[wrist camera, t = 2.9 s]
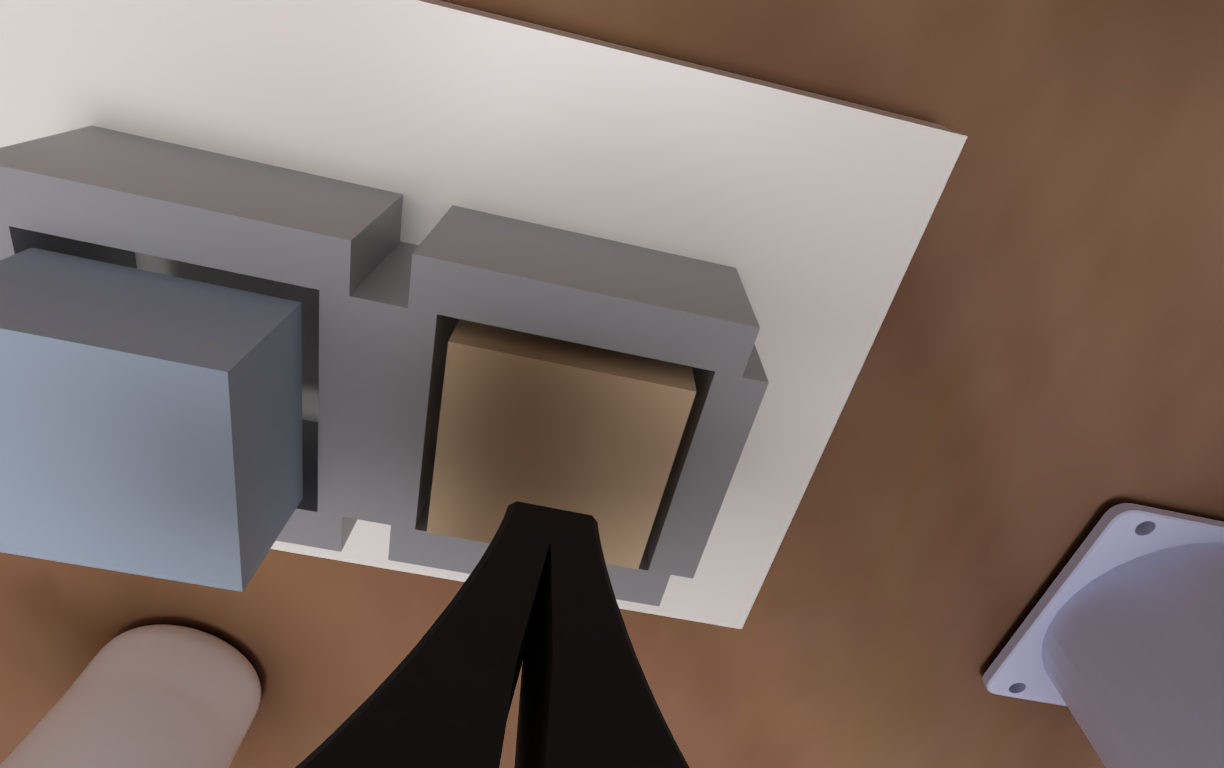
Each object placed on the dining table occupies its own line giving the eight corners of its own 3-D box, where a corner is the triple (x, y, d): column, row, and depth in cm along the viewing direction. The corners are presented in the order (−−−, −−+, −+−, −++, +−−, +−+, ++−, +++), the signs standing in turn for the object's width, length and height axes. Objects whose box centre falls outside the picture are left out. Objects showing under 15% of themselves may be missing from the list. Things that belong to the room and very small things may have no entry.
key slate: (301, 302, 12) (228, 371, 10) (302, 498, 14) (242, 591, 12) (31, 247, 11) (-110, 307, 9) (76, 458, 13) (-30, 547, 11)
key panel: (936, 123, 14) (1052, 171, 10) (734, 590, 21) (759, 725, 17) (-82, -129, 13) (-404, -187, 9) (56, 470, 19) (-90, 591, 15)
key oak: (685, 331, 14) (696, 391, 12) (636, 493, 16) (637, 569, 14) (476, 287, 14) (448, 341, 12) (453, 459, 16) (426, 532, 14)
